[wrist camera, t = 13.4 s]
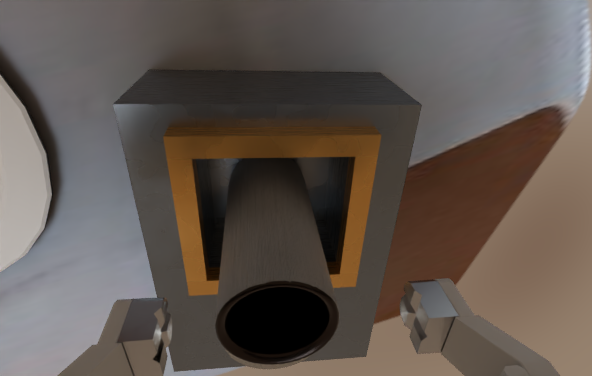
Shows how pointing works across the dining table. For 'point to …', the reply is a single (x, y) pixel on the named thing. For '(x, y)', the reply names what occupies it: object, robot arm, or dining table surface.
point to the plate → (20, 178)
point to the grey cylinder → (272, 268)
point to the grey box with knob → (265, 144)
